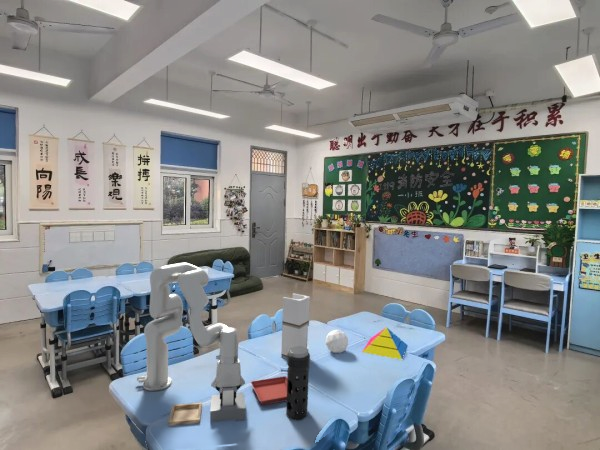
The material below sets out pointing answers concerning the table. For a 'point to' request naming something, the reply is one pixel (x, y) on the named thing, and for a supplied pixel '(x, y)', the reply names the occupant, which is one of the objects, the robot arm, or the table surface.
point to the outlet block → (227, 409)
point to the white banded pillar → (295, 322)
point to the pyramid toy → (386, 345)
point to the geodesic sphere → (336, 341)
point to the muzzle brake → (297, 382)
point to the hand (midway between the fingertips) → (228, 399)
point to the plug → (228, 396)
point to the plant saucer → (271, 389)
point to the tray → (185, 414)
